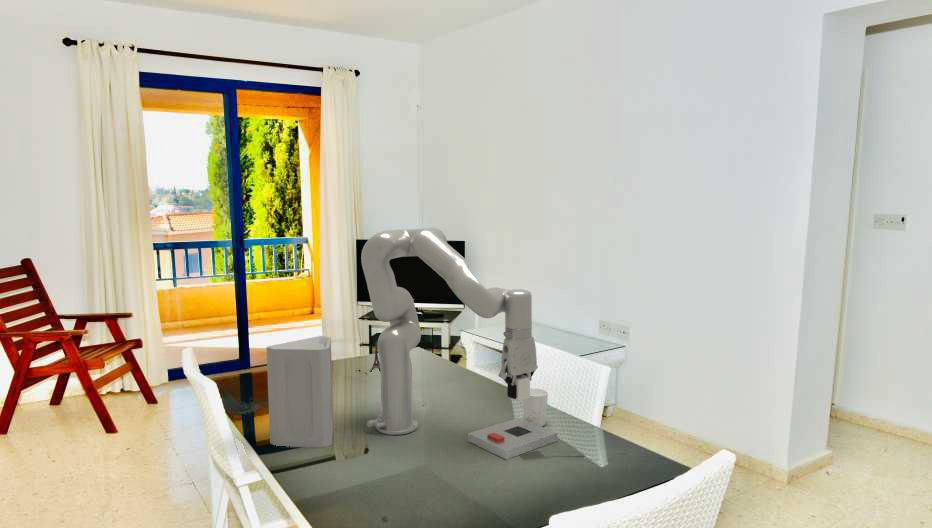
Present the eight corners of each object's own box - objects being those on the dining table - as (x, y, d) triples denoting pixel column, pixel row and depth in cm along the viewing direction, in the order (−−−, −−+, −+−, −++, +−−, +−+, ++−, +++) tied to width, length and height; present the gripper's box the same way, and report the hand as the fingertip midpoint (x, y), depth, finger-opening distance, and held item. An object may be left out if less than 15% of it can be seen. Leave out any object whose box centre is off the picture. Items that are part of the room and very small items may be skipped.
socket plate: (506, 459, 160) (506, 447, 159) (468, 441, 172) (468, 430, 172) (557, 440, 172) (557, 430, 172) (518, 425, 185) (518, 415, 184)
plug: (518, 400, 169) (518, 375, 168) (507, 396, 172) (507, 372, 172) (529, 397, 172) (529, 372, 171) (518, 393, 175) (518, 369, 174)
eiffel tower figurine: (354, 371, 247) (354, 339, 246) (375, 366, 254) (374, 335, 253) (375, 378, 237) (374, 345, 235) (396, 373, 243) (395, 341, 242)
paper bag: (298, 456, 162) (294, 355, 159) (268, 442, 172) (265, 346, 169) (354, 436, 176) (352, 342, 174) (324, 424, 186) (321, 335, 183)
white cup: (546, 428, 181) (547, 396, 180) (520, 427, 183) (520, 395, 182) (548, 419, 189) (548, 388, 188) (523, 418, 191) (523, 387, 190)
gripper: (505, 339, 162) (505, 405, 164) (548, 331, 173) (548, 392, 174) (487, 335, 168) (487, 398, 170) (530, 327, 178) (530, 387, 180)
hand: (518, 395), depth 172 cm, fingers closed on plug, 4 cm apart
